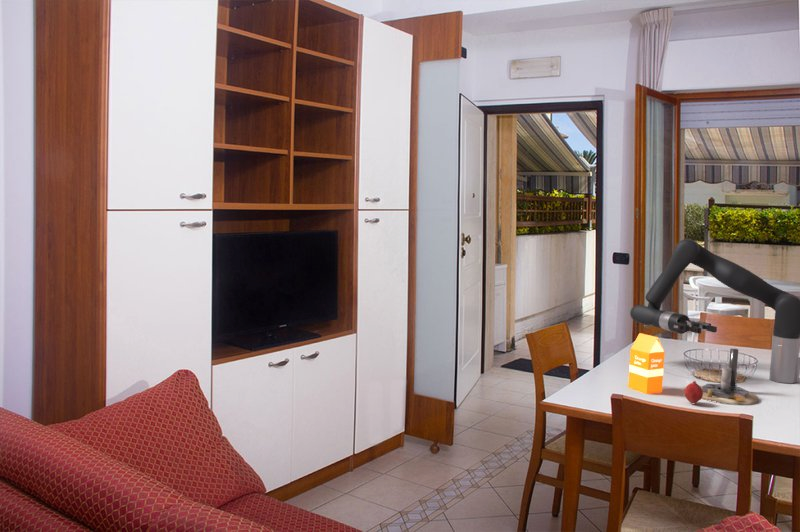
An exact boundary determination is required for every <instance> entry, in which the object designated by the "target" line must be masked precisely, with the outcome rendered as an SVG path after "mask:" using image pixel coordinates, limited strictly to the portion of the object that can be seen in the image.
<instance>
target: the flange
mask: <svg viewBox="0 0 800 532" xmlns="http://www.w3.org/2000/svg"><path fill="white" fill-rule="evenodd" d="M729 350H730V352H729V363H728V368H731V369H732V370H731V383H730V391H723V390H721V383H706V384H705V385H704V386H703V385H702V386H703V387H702V391H704V392H706V393H708V389H712V395H714V396H719V397H724V398H733V399H735V400H737V401H745V397H747V396H748V395H749V392H750V391H749V390H747V389H745V388H742V387H740V386H738V384H737V375H738V374H737V373H738V372H737V370H738V360H739V349H738V348H730V349H729Z"/></svg>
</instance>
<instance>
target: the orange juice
mask: <svg viewBox="0 0 800 532" xmlns="http://www.w3.org/2000/svg"><path fill="white" fill-rule="evenodd" d="M629 354H630V355H629V368H628V371H629V372H628V386H627V388H628V389H631V390H633V391H636V392H639V393H642V394H645V395H651V394H658V393H663V380H664V368H665V367H664V365H665V349H664V348H663V345H662V343H661V341H660V339H659V337H658V336H654V335H650V334H645V333H642V332H639V334H638V335H637V337H636V339H635V341H634V343H633V344H632V346H631V347H630V351H629Z"/></svg>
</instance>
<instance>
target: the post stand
mask: <svg viewBox="0 0 800 532" xmlns="http://www.w3.org/2000/svg"><path fill="white" fill-rule="evenodd" d="M731 370H732V369H731V368H729V366H728V367H727V366H722V368H721V379H720V384H721V390H723V391H730V383H731ZM699 386H700V387H701V389H702V387H703V386H704V385H699ZM702 398H703V399H702ZM702 398H701V399H702V400H704V399H707V400H706V401H708V400H711V401H710V402H712V401H716V402H715V403H717V402H721V403H720V404H723V403H729V404H728V405H731V404H738V405H737V406H749V405H754V404H757V403H758V402H759V396H758V395H757V394H755V393H753V392H751V391H749V395H748V396H747V397H745V401H737V400H735V399H733V398H724V397H719V396H714V395H712V389H708V393H706V392H704V391H703V396H702Z"/></svg>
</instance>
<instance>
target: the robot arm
mask: <svg viewBox="0 0 800 532" xmlns="http://www.w3.org/2000/svg"><path fill="white" fill-rule="evenodd" d="M690 264H691V265H694V266H697V267H698V268H700V269H702V270H704V271H705V272H707V273H708V274H709V275H711V276H712V277H713V278H714V279H715V280H717V281H718V282H719V283H721V284H723V285H724V286H726V287H728V288H730V289H732V290H734V291H735V292H737V293H738V294H739V293H740V294H742V295H744V296H747V297H749V298H751V299H755V300H756V301H759V302H761V303H763V304H764V305H766V306H768V307H769V308H771V310H773V311H775V313H774V322H773V328H772V329H773V330H772V342H771V343H772V344H771V352H770V353H771V355H770V366H769V380H770V381H773V382H777V383H782V384H795V383H799V382H800V356H799V355H800V298H799V296H796V295H795V294H792V293H789V292H787V291H784V290H782V289H780V288H778V287H776V286H773V285H771V284H770V283H769V282H767V281H765V280H764V279H763V278H761V277H760V276H758V275H756V274H755V273H754V272H752V271H751V270H748V269H747V268H745V267H743V266H741V265H739V264H738V263H736V262H733V261H731V260H729V259H726V258H725V257H722V256H720V255H717V254H715V253H713V252H711V251H710V250H708V249H707V248H705V247H704V246H702V245H701V244H700V243H698V242H697V241H696V240H694V239H691V238H684V239H681V240H680V241H678V242H677V243H676V244H675V247H674V250H673V253H672V255H671V257H670V259H669V261H668V263H667V265H666V267H665V268H664V269H663V270H662V272H661V273H660V275H659V276H658V277H657V279H656V280H655V281H654V283H653V284H652V285H651V287H650V288H649V290H648V292H647V293H646V294H645V300H646V301H647V302H648V304H647V305H643V304H637V305H634V306H632V308H631V309H630V317H631V319H632V320H633V321H635V322H637V323H638V324H639V323H640V324H642V325H645V326H650V325H651V326H653V327H655V328H657V329H658V328H659V329H663V330H665V331H668V332H672V333H676V334H680V335H682V334H686V333H694V334H698V335H699V334H702V331H703V332H704V331H705V332H711V333H717V330H718V329H717V328H718V327H717V326H715V325H712V323H710V322H709V323H708V322H705V321H700V320H697V321H695V320H691V319H690V318H689V316H688V315H687V314H683V313H679V312H675V311H666V310H661V308H662V305H663V302H665V299H666V298H667V297H668V295H669V294H670V293H671V291H672V289H673V287H674V286H675V284H676V283H677V280H678V279H679V277H680V276H681V275H682V273H683V272H684V271H685V269H686V268H687V267H688V266H689V265H690Z"/></svg>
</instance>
